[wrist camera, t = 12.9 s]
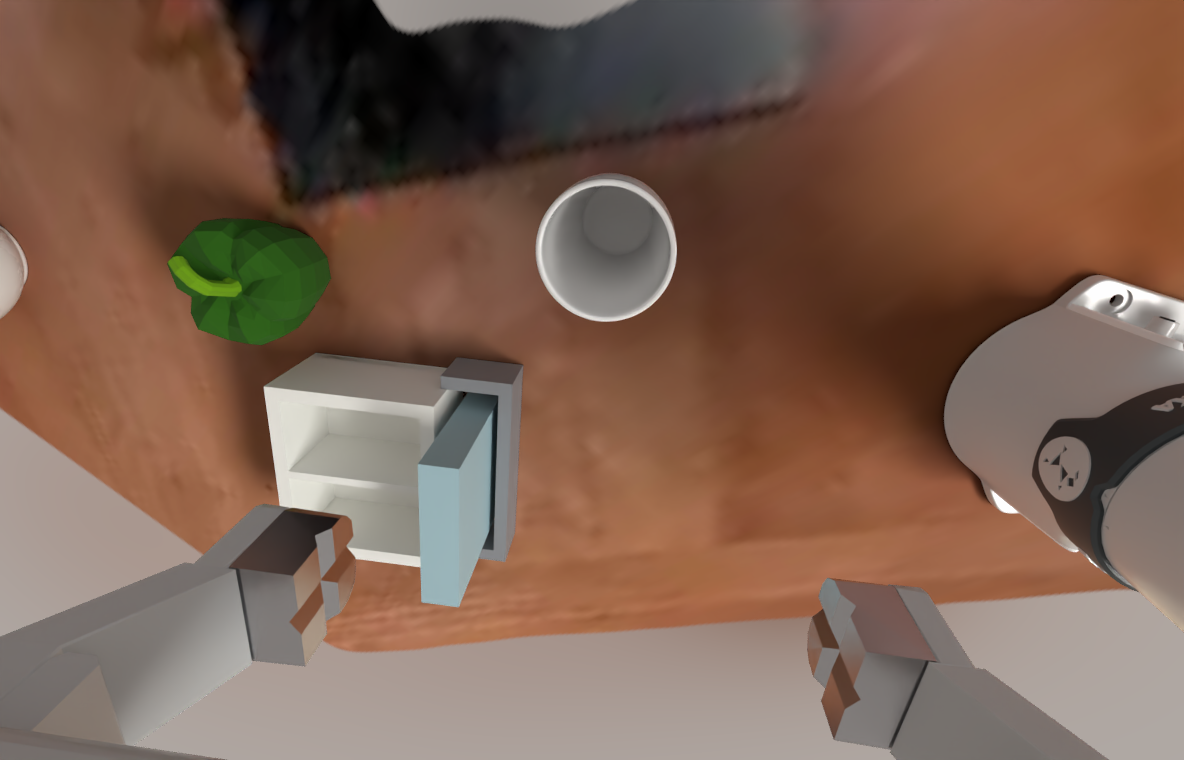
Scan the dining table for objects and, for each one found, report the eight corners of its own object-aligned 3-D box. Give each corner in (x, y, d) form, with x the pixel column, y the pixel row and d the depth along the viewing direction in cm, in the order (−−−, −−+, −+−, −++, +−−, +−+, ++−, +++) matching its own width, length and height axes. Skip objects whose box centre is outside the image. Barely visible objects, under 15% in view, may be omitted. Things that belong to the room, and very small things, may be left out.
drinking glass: (603, 282, 43) (584, 349, 29) (551, 201, 41) (504, 231, 27) (684, 230, 41) (706, 276, 27) (633, 144, 39) (628, 144, 25)
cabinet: (523, 364, 46) (503, 401, 39) (514, 531, 52) (496, 587, 45) (315, 340, 46) (261, 372, 40) (331, 508, 52) (287, 559, 46)
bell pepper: (365, 305, 45) (292, 347, 36) (271, 327, 46) (179, 374, 37) (320, 194, 42) (229, 209, 33) (222, 222, 43) (108, 244, 34)
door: (502, 391, 47) (459, 469, 36) (499, 506, 51) (458, 607, 40) (471, 387, 47) (417, 464, 36) (469, 502, 51) (421, 602, 40)
